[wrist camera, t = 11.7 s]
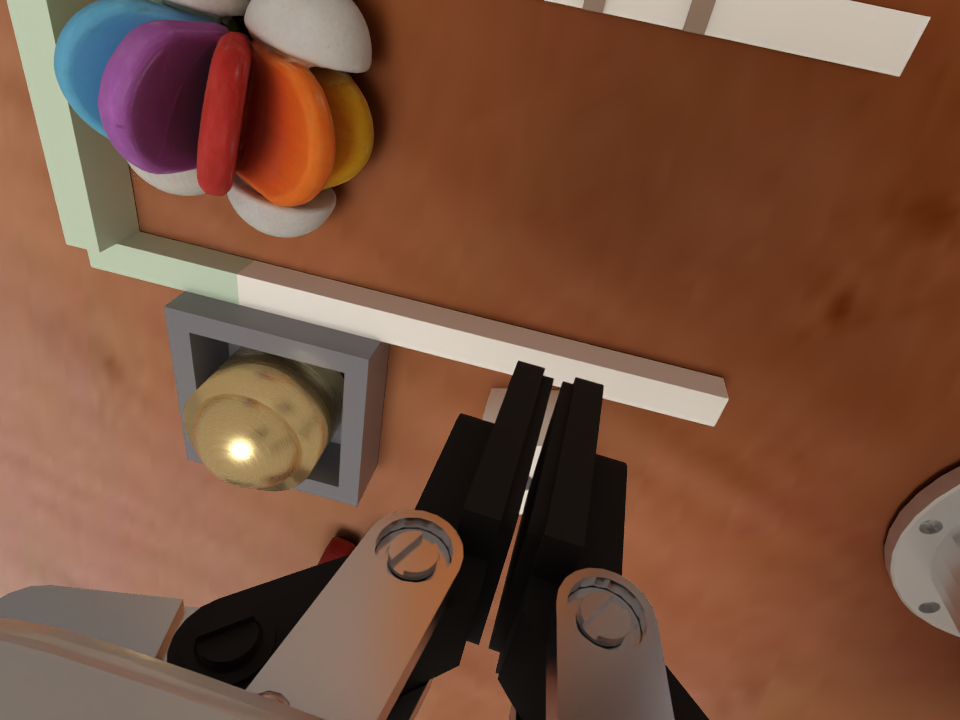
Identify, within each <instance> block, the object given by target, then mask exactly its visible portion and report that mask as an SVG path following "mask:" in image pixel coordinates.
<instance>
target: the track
mask: <svg viewBox="0 0 960 720" xmlns="http://www.w3.org/2000/svg"><path fill="white" fill-rule="evenodd" d="M96 1H98V0H7V3H8V8H9V12H10V16H11V20H12V24H13V28H14V32H15V36H16V40H17V44H18V48H19V53H20V57H21V61H22V65H23V69H24V73H25V77H26V81H27V85H28V89H29V93H30V98H31V102H32V106H33V110H34V114H35V118H36V122H37V126H38V130H39V134H40V138H41V143H42V147H43V151H44V155H45V159H46V163H47V167H48V171H49V175H50V179H51V183H52V188H53V192H54V196H55V200H56V204H57V208H58V212H59V216H60V220H61V224H62V228H63V233H64V237H65V241H66V244H67V245H71V246H75V247H79V248H83V249H87V251H88V255H89V259H90V264H91V267H94V268H98V269H102V270H106V271H109V272H113V273H117V274H121V275H125V276H129V277H133V278H137V279H141V280H144V281H148V282H152V283H156V284H160V285H164V286H168V287H172V288H176V289H179V290H183V291H187V292H191V293H195V294H199V295H203V296H207V297H211V298H215V299H218V300H222V301H226V302H230V303H234V304H238V305H242V306H246V307H250V308H253V309H257V310H261V311H265V312H269V313H273V314H277V315H281V316H285V317H288V318H292V319H296V320H300V321H304V322H308V323H312V324H316V325H320V326H324V327H327V328H331V329H335V330H339V331H343V332H347V333H351V334H355V335H359V336H362V337H366V338H370V339H374V340H378V341H382V342H386V343H390V344H394V345H397V346H401V347H405V348H409V349H413V350H417V351H421V352H425V353H429V354H433V355H436V356H440V357H444V358H448V359H452V360H456V361H460V362H464V363H468V364H471V365H475V366H479V367H483V368H487V369H491V370H495V371H499V372H503V373H506V374H510V375H513V373H514V370H515V367H516V365H517V362H518V360H519V361H522V362H526V363H529V364H533V365H536V366H540V367H543V368H545V371H544V374H543V375H544V376H547V377H551V378H554V381H553V386H557V387H561V385H562V382H563V381H564V382H568V383H571V384H573V383H574V380H575V378H576V377H578V378H581V379H585V380H588V381H592V382H595V383H599V384H602V385H604V390H603V398H604V399H608V400H612V401H615V402H619V403H623V404H627V405H631V406H635V407H639V408H643V409H647V410H651V411H654V412H658V413H662V414H666V415H670V416H674V417H678V418H682V419H686V420H689V421H693V422H697V423H701V424H705V425H709V426H713V427H714V426H715V424H716V422H717V421H718V419H719V417H720V415H721V413H722V411H723V409H724V407H725V405H726V404H727V402H728V400H729V398H728V394H727V390H726V386H725V383H724V379H723V378H721V377H717V376H713V375H709V374H705V373H701V372H697V371H693V370H689V369H685V368H681V367H677V366H673V365H669V364H665V363H661V362H657V361H653V360H649V359H645V358H641V357H637V356H633V355H629V354H625V353H621V352H617V351H613V350H609V349H605V348H601V347H597V346H593V345H589V344H585V343H582V342H578V341H574V340H570V339H566V338H562V337H558V336H554V335H550V334H546V333H542V332H538V331H534V330H530V329H526V328H522V327H518V326H514V325H510V324H506V323H502V322H498V321H494V320H490V319H486V318H482V317H478V316H474V315H470V314H466V313H462V312H458V311H454V310H450V309H446V308H442V307H438V306H434V305H430V304H426V303H422V302H418V301H414V300H410V299H407V298H403V297H399V296H395V295H391V294H387V293H383V292H379V291H375V290H371V289H367V288H363V287H359V286H355V285H351V284H347V283H343V282H339V281H335V280H331V279H327V278H323V277H319V276H315V275H311V274H307V273H303V272H299V271H295V270H291V269H287V268H283V267H279V266H275V265H271V264H267V263H263V262H259V261H255V260H251V259H247V258H243V257H239V256H235V255H231V254H228V253H224V252H220V251H216V250H212V249H208V248H204V247H200V246H196V245H192V244H188V243H184V242H180V241H176V240H172V239H168V238H164V237H160V236H156V235H152V234H148V233H144V232H140V230H139V224H138V218H137V212H136V206H135V200H134V194H133V188H132V182H131V176H130V170H129V164H128V162H127V160H126V159H125V158H124V157H122V156H121V154H120V153H119V152H118V151H117V150H116V149H115V148H114V146H113V145H112V143H111V142H110V140H109V139H108V138H106V137H105V136H103V135H101V134H100V133H98V132H97V131H96V130H94V129H93V128H92V127H91V126H89V125H88V124H87V123H86V122H85V121H84V120H83V119H82V118H81V117H80V116H79V115H78V114H77V113H76V112H75V111H74V109H73V108H72V107H71V105H70V104H69V103H68V101H67V100H66V98H65V96H64V95H63V93H62V91H61V89H60V86H59V84H58V82H57V79H56V75H55V71H54V52H55V47H56V43H57V39H58V37H59V35H60V33H61V31H62V29H63V28H64V26H65V25H66V24H67V22H68V21H69V20H70V19H71V18H72V17H73V16H74V15H75V14H76V13H77V12H78V11H80V10H81V9H82V8H84V7H86V6H87V5H89V4H91V3H93V2H96ZM546 1H550V2H555V3H559V4H564V5H569V6H573V7H578V8H582V9H585V10H589V11H594V12H599V13H606V14H611V15H615V16H620V17H625V18H629V19H634V20H638V21H643V22H648V23H652V24H657V25H662V26H666V27H671V28H676V29H680V30H683V31H687V32H692V33H696V34H701V35H708V36H713V37H718V38H722V39H727V40H731V41H736V42H741V43H745V44H750V45H755V46H759V47H764V48H769V49H773V50H778V51H783V52H787V53H792V54H797V55H801V56H806V57H811V58H815V59H820V60H824V61H829V62H834V63H838V64H843V65H848V66H852V67H857V68H862V69H866V70H871V71H876V72H880V73H885V74H890V75H894V76H899V77H900V75H901V73H902V71H903V69H904V67H905V65H906V64H907V62H908V60H909V58H910V56H911V54H912V52H913V50H914V48H915V47H916V45H917V43H918V41H919V39H920V37H921V35H922V33H923V31H924V30H925V28H926V26H927V24H928V22H929V20H930V18H931V17H927V16H922V15H918V14H913V13H908V12H903V11H898V10H894V9H889V8H884V7H879V6H874V5H870V4H865V3H860V2H855V1H850V0H546Z"/></svg>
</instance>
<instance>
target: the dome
mask: <svg viewBox="0 0 960 720" xmlns="http://www.w3.org/2000/svg"><path fill="white" fill-rule="evenodd" d="M343 394H344V379H343V377H342V375H341V374H340V372H338V371H335V370H331V369H327V368H323V367H319V366H316V365H312V364H308V363H304V362H300V361H296V360H293V359H289V358H285V357H281V356H277V355H273V354H270V353H266V352H262V351H258V350H254V349H251V348H247V347H243V346H241V347H240V348H239V349H238V350H237V351H236V352H235V353H234V354H233V355H232V356H231V357H230V358H228V359H227V360H226V361H225V362H224V363H223V364H222V365H221V366H220V367H219V368H218V369H217V370H216V371H215V372H214V373H213V374H212V375H211V376H210V377H209V378H208V379H207V380H206V381H205V382H204V383H203V384H202V385H201V386H200V387H199V388H198V389H197V390H196V391H195V392H194V393H193V394H192V395H191V396H190V397H189V399H188V400H187V402H186V404H185V407H184V412H183V422H184V427H185V431H186V433H187V436H188V438H189V440H190V442H191V444H192V445H193V447H194V448H195V450H196V452H197V455H198V457H199V458H200V460H201V462H202V463H203V465H204V466H205V467H206V469H207V470H208V471H209V472H210V473H212V474H213V475H214V476H215V477H217V478H218V479H220V480H221V481H223V482H225V483H228V484H230V485H233V486H236V487H241V488H248V489H258V490H265V491H282V490H287V489H291V488H293V487H296V486H298V485H299V484H301V483H302V482H303V481H305V480H306V478H307V477H308V476H309V475H310V473H311V471H312V470H313V468H314V467H315V465H316V463H317V462H318V460H319V458H320V457H321V455H322V454H323V452H324V450H325V449H326V447H327V445H328V444H329V442H330V441H331V439H332V437H333V436H334V434H335V432H336V431H337V429H338V428H339V426H340V424H341V423H342V413H343Z"/></svg>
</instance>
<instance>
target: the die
mask: <svg viewBox="0 0 960 720" xmlns="http://www.w3.org/2000/svg"><path fill="white" fill-rule="evenodd" d="M507 389H508V388H491V391H490V395H489V398H488V401H487V404H486V408H485V411H484V414H483V417H482V420H485V421H488V422H492V423H495V421H496V418H497V416H498V413H499V410H500V408H501V405H502V402H503V399H504V397H505V394H506V391H507ZM558 394H559V390H551V393H550V396H549V400H548V404H547V408H546V412H545V416H544V420H543V423H542V427H541V431H540V435H539V439H538V443H537V447H536V451H535V454H534V458H533V462H532V466H531V470H530V474H529V478H528V481H527V485H526V489H525V493H524V497H523V501H522V505H521V508H520V512H519V514H522V513H523V509H524V505H525V502H526V498H527V494H528V490H529V487H530V483H531V480H532V477H533V474H534V471H535V467H536V464H537V461H538V458H539V455H540V451H541V448H542V445H543V442H544V439H545V436H546V432H547V429H548V426H549V423H550V420H551V416H552V413H553V410H554V407H555V404H556V401H557V397H558Z"/></svg>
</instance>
